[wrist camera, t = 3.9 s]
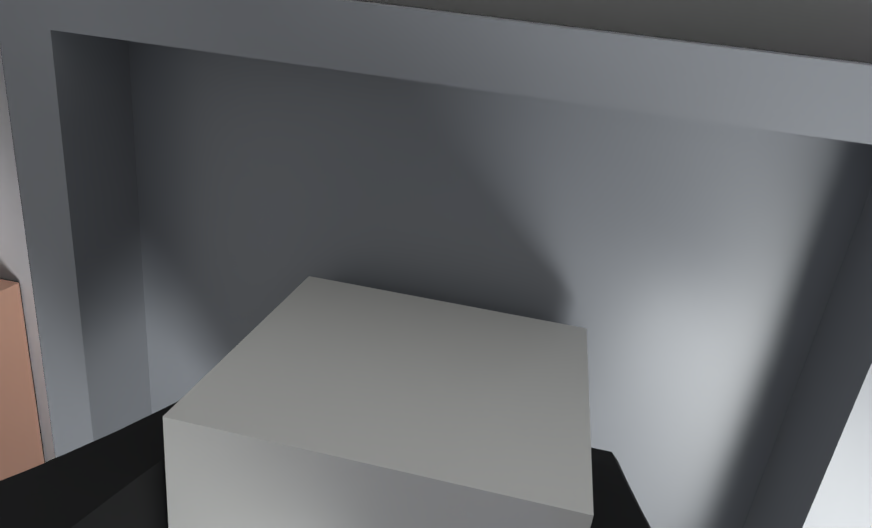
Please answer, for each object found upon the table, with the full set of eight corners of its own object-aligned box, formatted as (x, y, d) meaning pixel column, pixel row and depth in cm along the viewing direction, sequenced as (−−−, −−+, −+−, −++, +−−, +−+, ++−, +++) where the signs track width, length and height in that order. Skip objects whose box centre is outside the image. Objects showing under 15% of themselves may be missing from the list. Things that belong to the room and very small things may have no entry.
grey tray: (704, 706, 13) (728, 829, 11) (146, 558, 15) (80, 642, 13) (957, 74, 9) (1077, 90, 7) (102, -32, 10) (-12, -44, 8)
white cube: (536, 550, 11) (518, 804, 8) (299, 493, 12) (177, 703, 8) (586, 327, 10) (593, 514, 6) (308, 275, 10) (162, 416, 7)
